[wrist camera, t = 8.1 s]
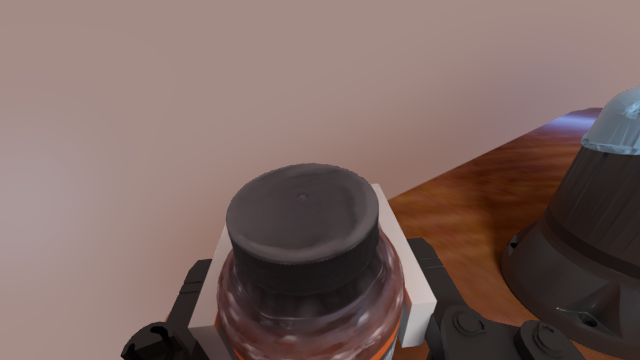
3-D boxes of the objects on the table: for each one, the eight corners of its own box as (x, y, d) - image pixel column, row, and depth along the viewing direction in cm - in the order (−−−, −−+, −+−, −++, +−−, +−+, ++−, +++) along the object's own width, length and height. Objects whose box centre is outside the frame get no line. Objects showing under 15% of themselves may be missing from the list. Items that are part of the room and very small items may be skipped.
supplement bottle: (251, 348, 14) (177, 176, 8) (343, 299, 16) (340, 134, 10) (290, 504, 9) (183, 379, 3) (411, 407, 11) (482, 221, 5)
